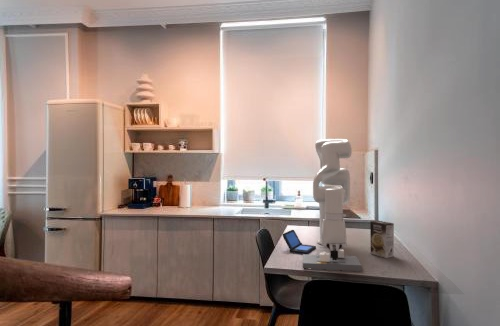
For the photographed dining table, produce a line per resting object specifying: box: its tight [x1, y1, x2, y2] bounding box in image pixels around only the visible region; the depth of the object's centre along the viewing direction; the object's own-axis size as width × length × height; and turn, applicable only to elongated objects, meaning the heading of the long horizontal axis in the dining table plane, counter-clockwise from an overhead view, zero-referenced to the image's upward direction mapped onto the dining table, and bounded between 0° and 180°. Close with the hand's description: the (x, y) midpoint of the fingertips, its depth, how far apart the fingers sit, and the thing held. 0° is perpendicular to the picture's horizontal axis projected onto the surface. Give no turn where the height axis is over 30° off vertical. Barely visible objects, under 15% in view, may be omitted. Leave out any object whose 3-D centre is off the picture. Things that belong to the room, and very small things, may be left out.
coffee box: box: [369, 220, 395, 259], centre depth 163 cm, size 9×6×16 cm
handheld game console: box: [282, 229, 317, 255], centre depth 174 cm, size 16×13×9 cm
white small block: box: [319, 251, 331, 262], centre depth 144 cm, size 3×4×4 cm
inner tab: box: [338, 248, 345, 258], centre depth 150 cm, size 3×4×4 cm
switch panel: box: [302, 253, 362, 272], centre depth 147 cm, size 14×24×3 cm, turn 81°
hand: (334, 259), depth 143 cm, fingers closed
